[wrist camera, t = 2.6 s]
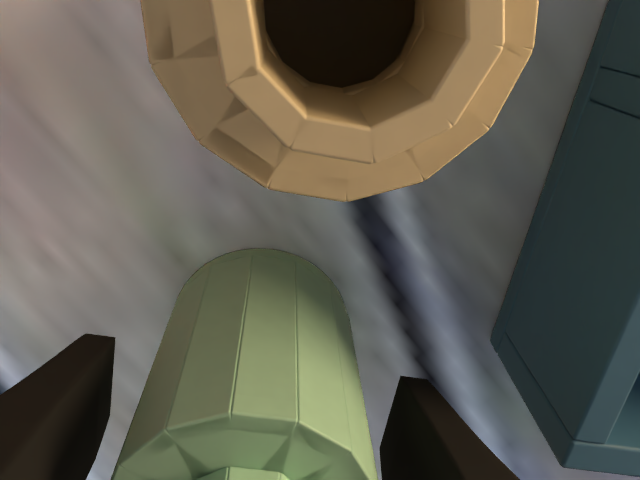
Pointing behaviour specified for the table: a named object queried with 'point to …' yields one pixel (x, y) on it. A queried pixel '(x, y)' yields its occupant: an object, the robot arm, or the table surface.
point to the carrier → (586, 270)
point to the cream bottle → (338, 84)
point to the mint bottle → (252, 380)
